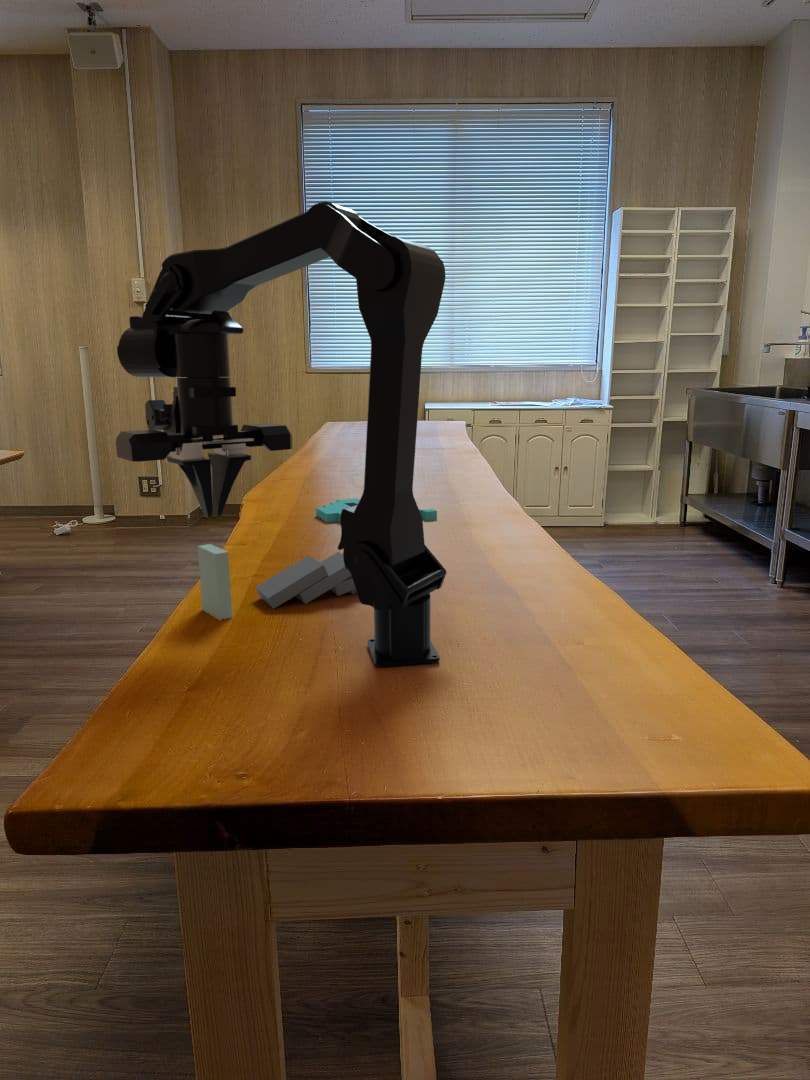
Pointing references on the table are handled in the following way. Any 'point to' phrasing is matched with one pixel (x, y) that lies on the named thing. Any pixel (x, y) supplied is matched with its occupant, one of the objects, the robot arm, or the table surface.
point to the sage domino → (215, 581)
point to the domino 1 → (291, 581)
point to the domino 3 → (344, 586)
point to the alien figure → (335, 508)
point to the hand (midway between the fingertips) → (212, 516)
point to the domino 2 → (327, 578)
